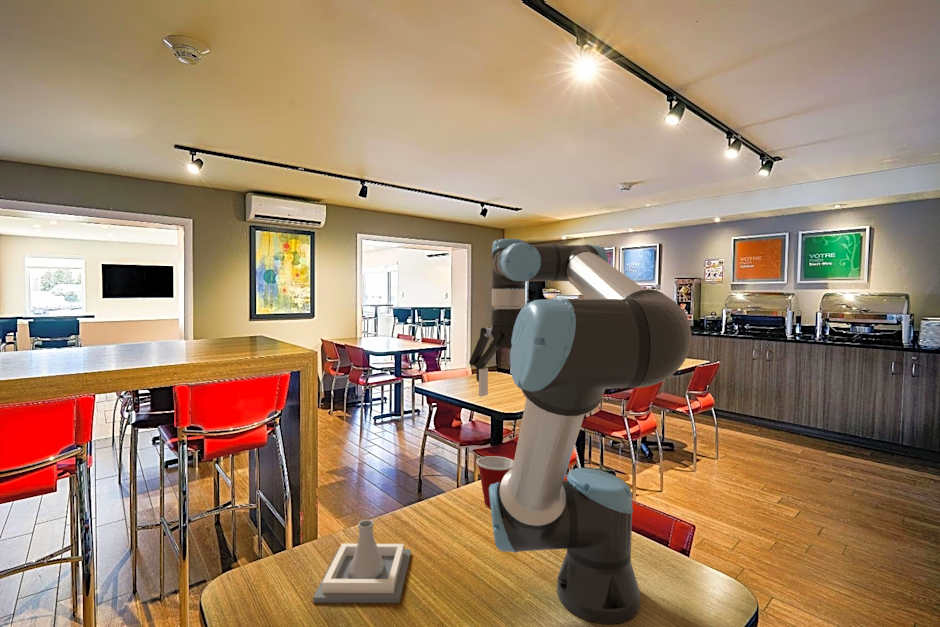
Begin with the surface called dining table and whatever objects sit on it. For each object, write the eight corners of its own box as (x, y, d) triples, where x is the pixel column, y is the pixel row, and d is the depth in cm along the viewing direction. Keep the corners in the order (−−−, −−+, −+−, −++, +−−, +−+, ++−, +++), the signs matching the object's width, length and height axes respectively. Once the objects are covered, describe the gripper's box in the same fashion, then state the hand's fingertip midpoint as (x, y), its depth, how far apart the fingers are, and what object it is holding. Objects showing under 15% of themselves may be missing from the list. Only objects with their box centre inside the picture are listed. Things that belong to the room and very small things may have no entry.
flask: (376, 584, 91) (375, 534, 90) (341, 579, 92) (340, 530, 92) (389, 563, 98) (389, 516, 97) (357, 558, 99) (357, 512, 99)
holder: (410, 553, 103) (410, 540, 103) (399, 603, 87) (399, 587, 87) (337, 553, 103) (337, 540, 103) (313, 602, 87) (312, 587, 87)
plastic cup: (523, 501, 128) (523, 458, 127) (504, 517, 119) (504, 471, 118) (488, 491, 134) (489, 450, 133) (468, 507, 125) (468, 462, 124)
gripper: (565, 308, 103) (564, 404, 104) (473, 306, 118) (473, 389, 119) (550, 309, 97) (549, 411, 98) (455, 306, 112) (455, 395, 113)
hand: (507, 399), depth 108 cm, fingers open, 13 cm apart
